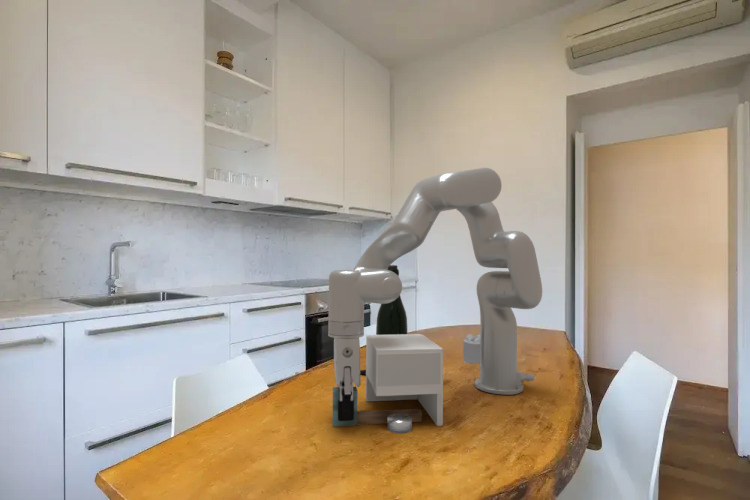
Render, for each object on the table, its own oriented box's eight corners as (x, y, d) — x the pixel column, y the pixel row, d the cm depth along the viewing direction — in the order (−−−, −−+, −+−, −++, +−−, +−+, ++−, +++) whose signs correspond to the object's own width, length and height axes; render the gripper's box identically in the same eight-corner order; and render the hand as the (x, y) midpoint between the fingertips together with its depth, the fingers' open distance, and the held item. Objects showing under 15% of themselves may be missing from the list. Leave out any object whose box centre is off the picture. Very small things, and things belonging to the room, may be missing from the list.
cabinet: (421, 397, 97) (421, 334, 98) (443, 425, 80) (443, 348, 81) (365, 399, 95) (366, 335, 96) (376, 429, 78) (376, 350, 79)
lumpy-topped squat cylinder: (501, 360, 136) (501, 335, 136) (482, 367, 127) (483, 340, 127) (475, 355, 144) (475, 331, 144) (455, 361, 134) (455, 336, 135)
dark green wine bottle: (413, 366, 127) (414, 265, 128) (397, 373, 118) (398, 265, 120) (385, 361, 133) (386, 265, 134) (369, 368, 124) (370, 264, 125)
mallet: (418, 416, 85) (418, 384, 85) (422, 422, 82) (422, 388, 82) (332, 420, 82) (332, 387, 83) (332, 426, 79) (333, 391, 80)
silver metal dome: (404, 421, 82) (404, 412, 83) (416, 430, 78) (416, 420, 78) (383, 425, 80) (383, 415, 80) (394, 435, 76) (394, 424, 76)
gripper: (368, 335, 74) (367, 432, 74) (359, 322, 91) (359, 402, 90) (329, 336, 73) (328, 434, 73) (327, 322, 90) (326, 403, 89)
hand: (345, 415), depth 81 cm, fingers closed on mallet, 3 cm apart
